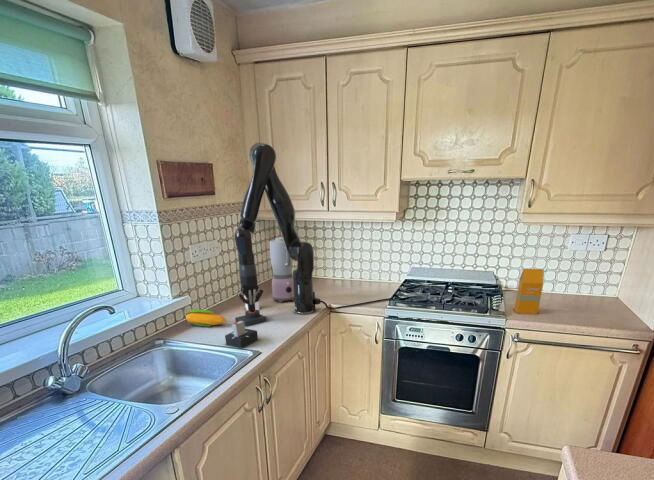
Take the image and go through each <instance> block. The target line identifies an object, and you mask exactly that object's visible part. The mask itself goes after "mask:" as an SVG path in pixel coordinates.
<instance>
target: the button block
mask: <svg viewBox="0 0 654 480" xmlns="http://www.w3.org/2000/svg"><path fill="white" fill-rule="evenodd" d="M255 311H256V313H248V312H249V310H248V311H247V310H245V312H244V314H245V315H240V316H236V317H235V318H234V320H235V323H237V322H239V321H244V327H246V328H247V327H249V326H253V325H254V326H255V325H258V324H262V323H265V322H267V316H265V315H263V314H260V313H261V311H260V310H255Z"/></svg>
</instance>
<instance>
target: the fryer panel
mask: <svg viewBox="0 0 654 480" xmlns="http://www.w3.org/2000/svg"><path fill="white" fill-rule="evenodd" d="M224 339H225V345H226V346H230V347H234V348H238V349H243V348H246V347H247V346H249V345H251V344H253V343H255V342H256V341H258V340H259V336H258V330H256V329H249V328H245V334H243V335H241V336H239V337H235V336H234V331H232V332H229V333H227V334H225V335H224Z"/></svg>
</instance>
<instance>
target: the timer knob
mask: <svg viewBox="0 0 654 480" xmlns="http://www.w3.org/2000/svg"><path fill="white" fill-rule="evenodd" d="M245 329H246V328H245V326H244V321H239V322H234V323H232V330H233V331H232V332H234V336H235V337H239V336H241V335H243V334H245Z"/></svg>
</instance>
